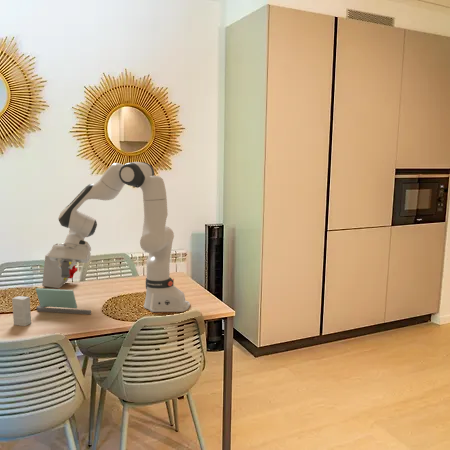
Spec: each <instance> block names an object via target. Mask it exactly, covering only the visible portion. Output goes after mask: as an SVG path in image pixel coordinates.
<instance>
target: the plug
mask: <svg viewBox="0 0 450 450" xmlns="http://www.w3.org/2000/svg"><path fill="white" fill-rule="evenodd" d="M68 265H69V261H62V262H61V266H62V275H61V277H62V278H68V277H70V274H69V268H68Z"/></svg>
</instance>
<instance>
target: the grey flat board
mask: <svg viewBox="0 0 450 450" xmlns="http://www.w3.org/2000/svg"><path fill="white" fill-rule="evenodd" d="M36 311H37V312H42V313H43V312H44V313H45V312H46V313H59V314H61V313H62V314H76V315H78V314H79V315H91V314H92V310H91V309H78V308H61V307H44V306H40V304H39V305H37V306H36Z"/></svg>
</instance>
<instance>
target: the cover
mask: <svg viewBox="0 0 450 450" xmlns="http://www.w3.org/2000/svg"><path fill="white" fill-rule="evenodd" d="M35 291H36V295H37V298H38V302H39V303H38V304H39V305H40V306H44V308H61V309H78V305H77V301H76V297H75V292H74V289H60V288H42V287H41V288H39V287H36V289H35Z"/></svg>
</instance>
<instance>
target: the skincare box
mask: <svg viewBox="0 0 450 450" xmlns="http://www.w3.org/2000/svg"><path fill="white" fill-rule="evenodd" d="M11 301H12V302H11V304H12V315H13V316H12V318H13V325H14V326H21V327H26V326H28V325H30V324H31V323H32V315H31V314H32V313H31V300H30V296H22V295H18V296H15V297H12V298H11Z"/></svg>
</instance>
